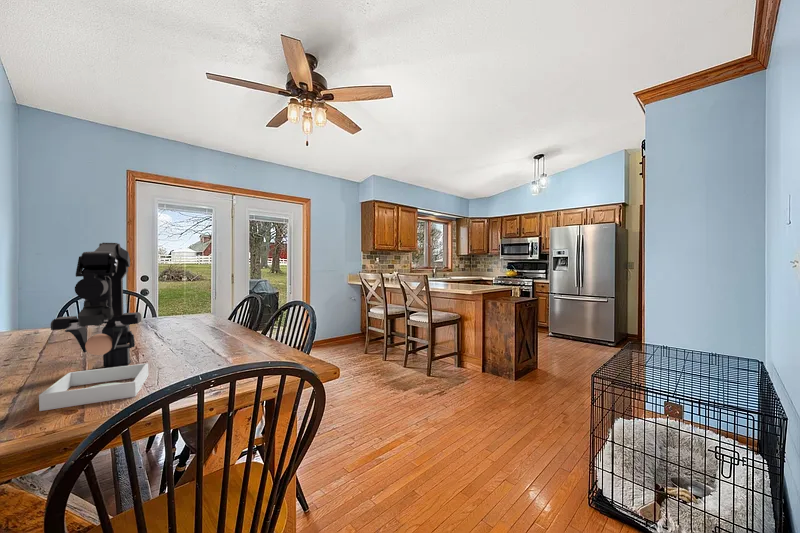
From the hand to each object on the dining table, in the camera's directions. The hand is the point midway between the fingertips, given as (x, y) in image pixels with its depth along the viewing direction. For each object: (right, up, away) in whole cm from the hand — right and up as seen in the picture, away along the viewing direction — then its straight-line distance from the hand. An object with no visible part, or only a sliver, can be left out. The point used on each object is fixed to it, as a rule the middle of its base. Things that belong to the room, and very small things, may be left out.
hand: (99, 350), depth 98 cm
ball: (0, -1, 0) cm, 1 cm away
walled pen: (0, -12, 0) cm, 12 cm away
